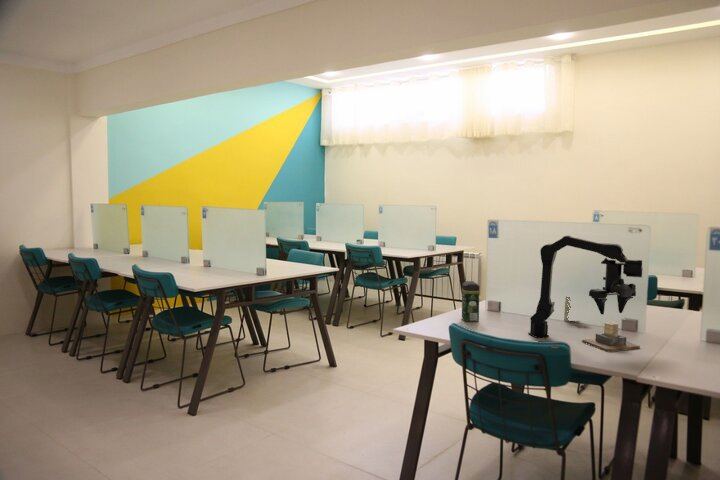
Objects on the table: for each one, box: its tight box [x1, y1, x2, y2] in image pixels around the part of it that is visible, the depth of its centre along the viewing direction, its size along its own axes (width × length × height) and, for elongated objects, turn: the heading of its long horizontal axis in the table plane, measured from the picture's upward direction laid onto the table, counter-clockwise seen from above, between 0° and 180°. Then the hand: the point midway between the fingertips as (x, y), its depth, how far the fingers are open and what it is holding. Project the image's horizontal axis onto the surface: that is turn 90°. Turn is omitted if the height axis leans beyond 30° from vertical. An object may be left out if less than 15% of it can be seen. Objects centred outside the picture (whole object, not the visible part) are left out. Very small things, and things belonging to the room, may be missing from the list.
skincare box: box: [563, 295, 571, 322], centre depth 259 cm, size 6×4×12 cm
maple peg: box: [603, 321, 619, 338], centre depth 219 cm, size 4×4×8 cm
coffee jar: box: [461, 280, 481, 323], centre depth 260 cm, size 10×8×19 cm
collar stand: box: [581, 332, 641, 353], centre depth 219 cm, size 16×14×4 cm
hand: (611, 313), depth 218 cm, fingers open, 9 cm apart
